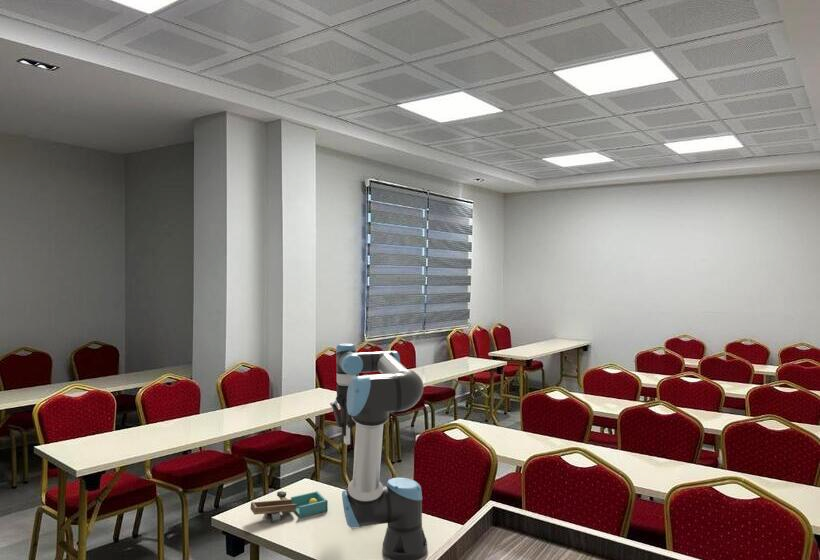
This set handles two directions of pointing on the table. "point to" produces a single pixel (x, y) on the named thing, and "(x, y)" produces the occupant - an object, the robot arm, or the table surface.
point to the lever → (273, 505)
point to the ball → (312, 501)
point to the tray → (309, 509)
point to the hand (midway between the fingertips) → (346, 443)
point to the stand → (274, 517)
